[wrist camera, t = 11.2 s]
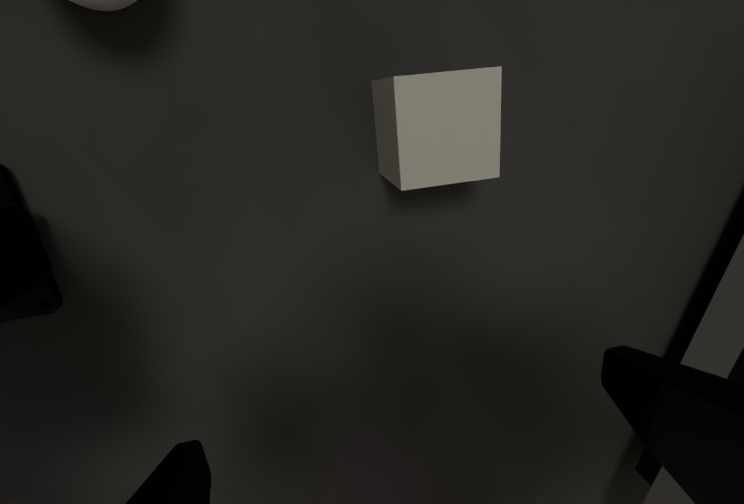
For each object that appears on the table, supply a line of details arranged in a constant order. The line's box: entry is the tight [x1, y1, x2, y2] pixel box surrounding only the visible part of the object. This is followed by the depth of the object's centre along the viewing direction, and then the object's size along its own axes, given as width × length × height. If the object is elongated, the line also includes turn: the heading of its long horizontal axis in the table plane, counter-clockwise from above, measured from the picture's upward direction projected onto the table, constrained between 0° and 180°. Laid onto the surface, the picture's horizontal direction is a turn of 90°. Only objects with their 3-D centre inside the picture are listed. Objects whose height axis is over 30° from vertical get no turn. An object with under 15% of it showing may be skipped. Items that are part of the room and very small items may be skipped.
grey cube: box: [371, 66, 502, 191], centre depth 17 cm, size 4×4×4 cm
